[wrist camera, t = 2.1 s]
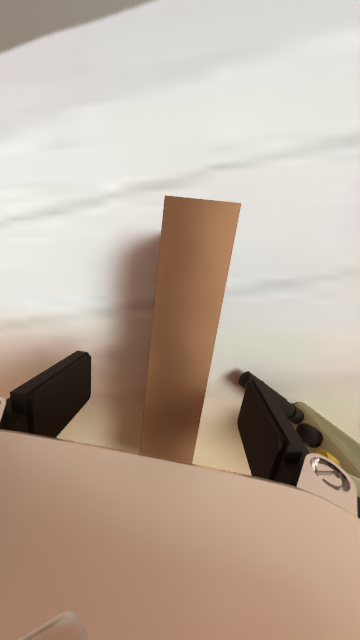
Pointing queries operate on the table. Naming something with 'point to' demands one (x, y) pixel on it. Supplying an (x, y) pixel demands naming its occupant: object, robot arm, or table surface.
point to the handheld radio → (319, 434)
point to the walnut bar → (185, 321)
